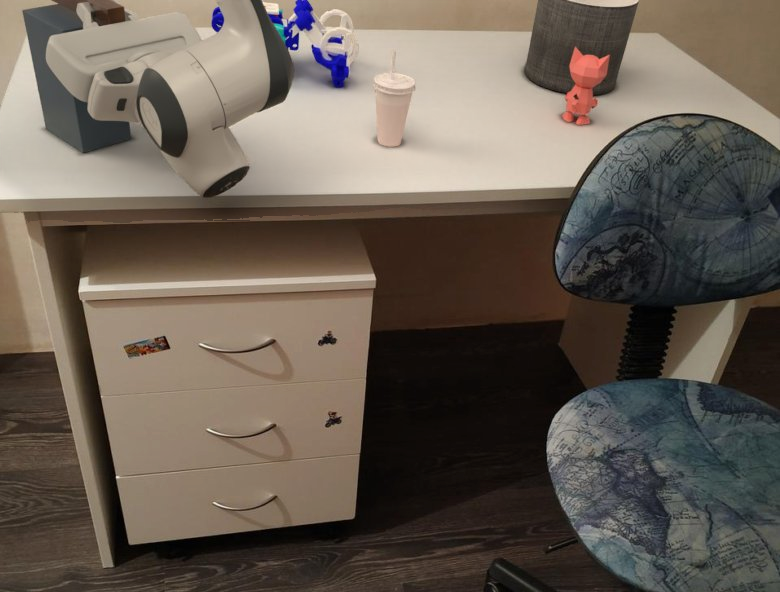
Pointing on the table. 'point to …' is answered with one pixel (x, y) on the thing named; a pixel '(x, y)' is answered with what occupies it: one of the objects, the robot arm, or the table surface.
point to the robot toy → (312, 36)
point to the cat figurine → (584, 85)
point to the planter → (578, 39)
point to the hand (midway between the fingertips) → (94, 3)
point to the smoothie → (392, 104)
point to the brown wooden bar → (99, 10)
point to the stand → (57, 102)
